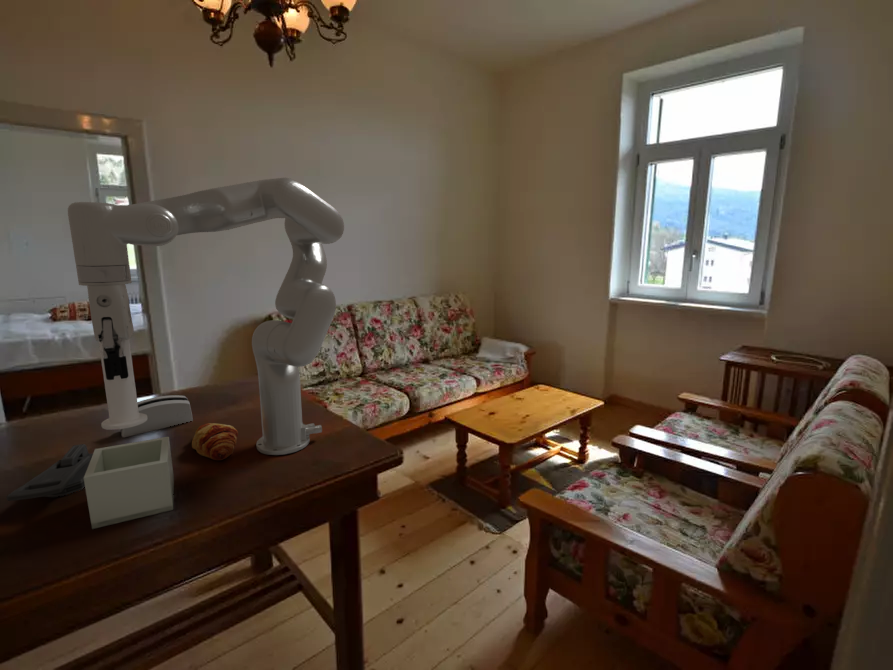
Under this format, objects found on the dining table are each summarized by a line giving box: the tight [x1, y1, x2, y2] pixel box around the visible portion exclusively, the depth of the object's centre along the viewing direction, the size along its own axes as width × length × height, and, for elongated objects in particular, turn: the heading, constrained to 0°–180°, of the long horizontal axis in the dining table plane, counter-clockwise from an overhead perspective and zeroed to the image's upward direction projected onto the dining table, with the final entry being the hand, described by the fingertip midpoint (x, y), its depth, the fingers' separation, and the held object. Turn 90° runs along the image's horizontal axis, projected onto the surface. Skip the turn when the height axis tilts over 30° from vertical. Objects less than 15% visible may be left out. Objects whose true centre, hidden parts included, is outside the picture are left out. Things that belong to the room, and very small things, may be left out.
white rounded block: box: [119, 394, 194, 438], centre depth 122 cm, size 17×5×10 cm, turn 133°
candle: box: [98, 299, 148, 431], centre depth 83 cm, size 7×7×25 cm
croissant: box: [191, 422, 239, 461], centre depth 112 cm, size 21×10×8 cm, turn 38°
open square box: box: [84, 436, 175, 530], centre depth 88 cm, size 12×12×10 cm
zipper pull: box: [6, 443, 93, 502], centre depth 92 cm, size 9×7×25 cm
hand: (118, 374), depth 84 cm, fingers closed on candle, 3 cm apart
